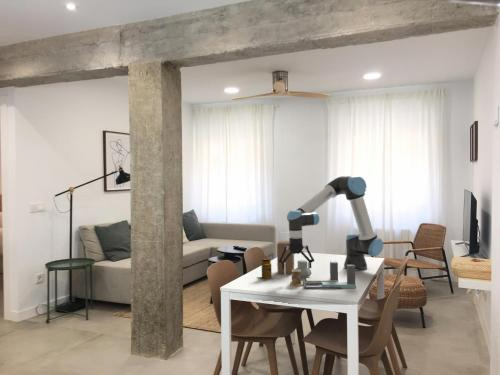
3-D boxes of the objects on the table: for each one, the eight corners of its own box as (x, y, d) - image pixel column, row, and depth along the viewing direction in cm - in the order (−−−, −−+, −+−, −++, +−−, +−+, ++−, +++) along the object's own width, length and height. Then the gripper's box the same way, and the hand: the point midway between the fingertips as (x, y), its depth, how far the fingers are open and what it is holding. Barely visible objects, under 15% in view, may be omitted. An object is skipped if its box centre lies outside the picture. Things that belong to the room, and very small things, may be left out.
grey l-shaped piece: (353, 285, 236) (353, 264, 235) (355, 288, 230) (355, 266, 229) (321, 285, 237) (321, 264, 237) (322, 288, 231) (322, 266, 231)
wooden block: (292, 274, 266) (292, 243, 265) (277, 273, 268) (276, 242, 267) (294, 270, 275) (293, 240, 275) (279, 270, 277) (278, 240, 277)
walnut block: (300, 281, 243) (300, 269, 242) (301, 283, 238) (300, 271, 237) (291, 281, 243) (291, 269, 243) (292, 283, 238) (292, 271, 238)
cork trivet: (302, 282, 244) (302, 281, 244) (303, 285, 237) (302, 284, 237) (290, 282, 244) (290, 281, 244) (290, 285, 237) (290, 284, 237)
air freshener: (292, 275, 261) (292, 260, 261) (304, 274, 265) (303, 259, 264) (300, 279, 251) (300, 263, 251) (312, 278, 254) (312, 262, 254)
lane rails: (336, 280, 247) (336, 278, 247) (341, 288, 229) (341, 286, 229) (302, 280, 248) (302, 278, 248) (304, 288, 230) (304, 286, 230)
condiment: (274, 278, 255) (273, 259, 255) (261, 280, 251) (261, 260, 251) (268, 276, 262) (268, 257, 261) (256, 278, 258) (256, 258, 258)
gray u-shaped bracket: (336, 281, 245) (336, 261, 245) (338, 283, 239) (338, 263, 239) (306, 281, 246) (305, 261, 246) (306, 283, 240) (306, 263, 240)
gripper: (317, 235, 243) (318, 272, 243) (274, 237, 244) (275, 272, 245) (318, 237, 235) (319, 275, 236) (274, 238, 237) (275, 276, 237)
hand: (296, 274), depth 240 cm, fingers open, 13 cm apart
